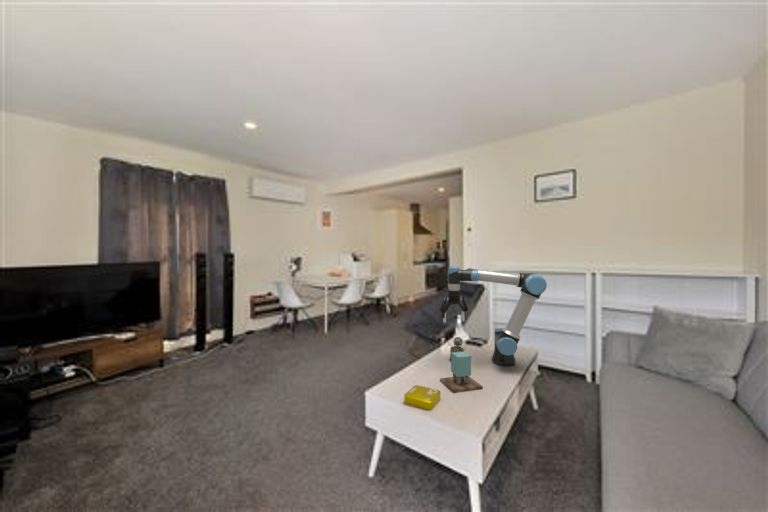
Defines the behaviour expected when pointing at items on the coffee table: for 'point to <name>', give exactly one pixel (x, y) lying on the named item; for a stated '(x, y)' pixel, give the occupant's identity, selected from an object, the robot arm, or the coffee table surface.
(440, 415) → the coffee table surface
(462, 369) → the teal block
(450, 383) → the peg board
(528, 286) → the robot arm
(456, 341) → the figurine
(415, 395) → the element tile
